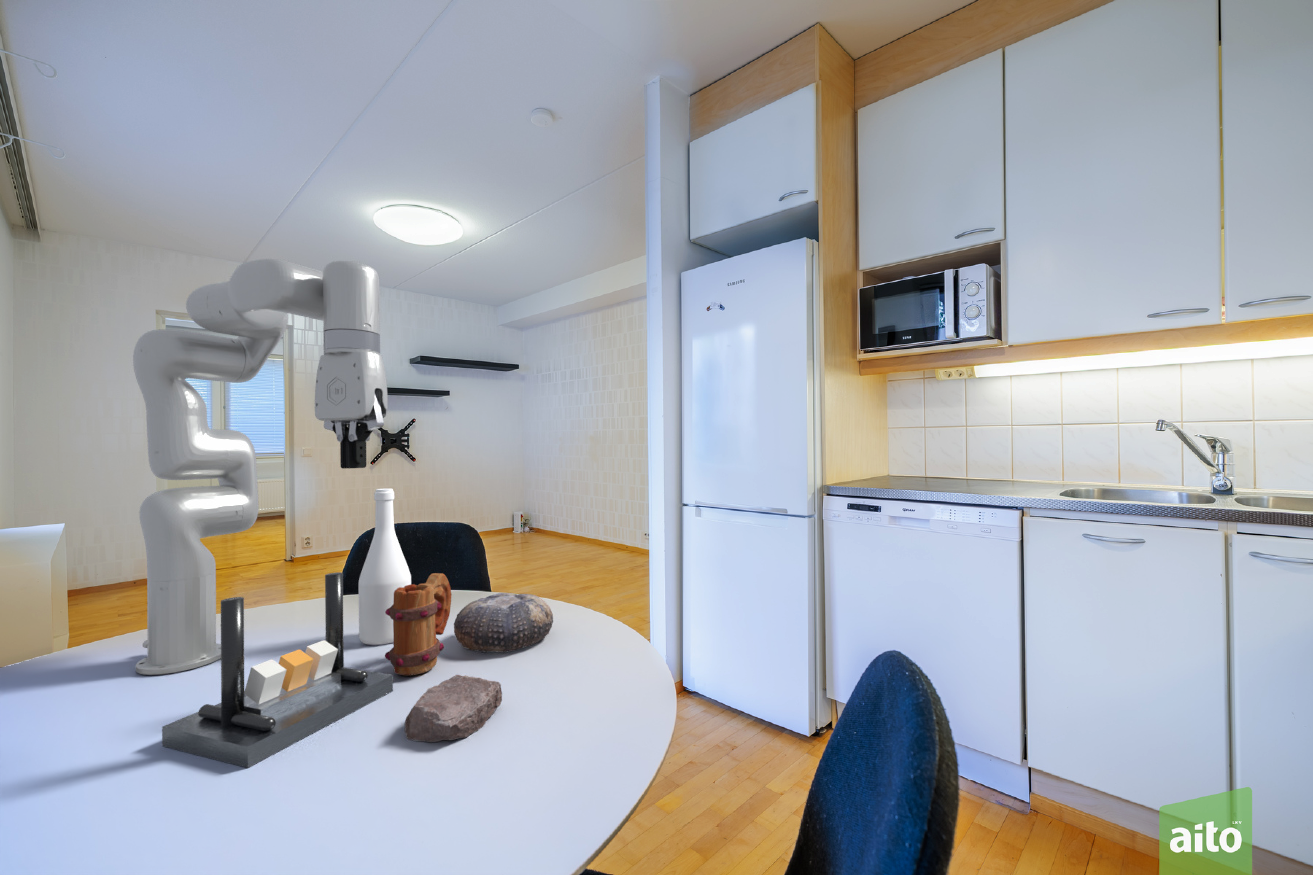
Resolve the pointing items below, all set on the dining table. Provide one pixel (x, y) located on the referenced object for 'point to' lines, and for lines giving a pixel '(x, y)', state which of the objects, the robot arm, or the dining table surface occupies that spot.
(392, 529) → the wine bottle
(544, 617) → the sea urchin shell
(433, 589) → the mug
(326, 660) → the white leaning block
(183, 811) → the dining table surface
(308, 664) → the block
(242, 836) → the dining table surface
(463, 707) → the stone
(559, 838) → the dining table surface
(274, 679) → the white tilted cube
